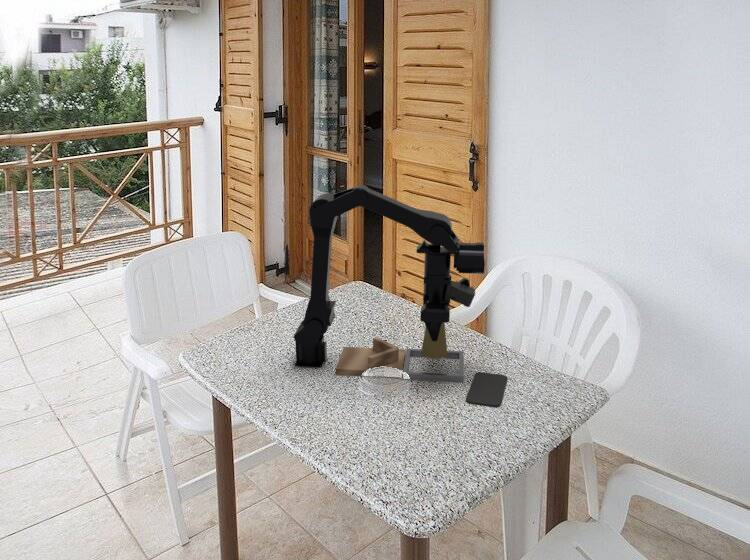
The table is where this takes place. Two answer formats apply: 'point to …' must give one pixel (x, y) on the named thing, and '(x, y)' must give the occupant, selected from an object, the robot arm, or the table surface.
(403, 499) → the table surface
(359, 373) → the dog kennel
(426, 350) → the cork
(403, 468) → the table surface
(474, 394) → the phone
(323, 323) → the robot arm
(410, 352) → the steel collar
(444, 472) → the table surface
